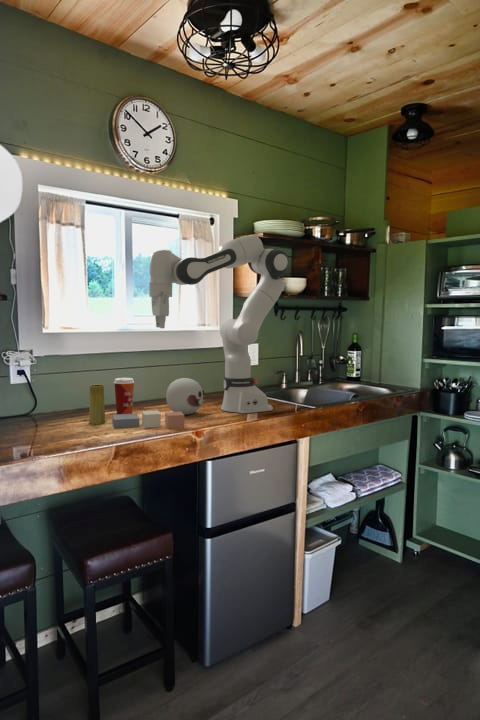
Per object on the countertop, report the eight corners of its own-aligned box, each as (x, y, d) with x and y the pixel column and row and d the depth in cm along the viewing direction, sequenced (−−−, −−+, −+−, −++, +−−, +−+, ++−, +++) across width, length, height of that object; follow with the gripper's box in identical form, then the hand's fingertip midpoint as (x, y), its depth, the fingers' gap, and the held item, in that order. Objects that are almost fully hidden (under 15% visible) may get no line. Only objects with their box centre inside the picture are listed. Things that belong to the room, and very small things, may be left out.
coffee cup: (129, 418, 196) (129, 380, 194) (110, 417, 198) (109, 379, 196) (138, 413, 204) (138, 377, 203) (119, 412, 206) (119, 377, 204)
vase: (108, 421, 190) (108, 384, 188) (99, 424, 184) (98, 387, 183) (95, 420, 192) (94, 383, 190) (85, 423, 186) (84, 385, 185)
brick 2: (181, 424, 187) (181, 411, 186) (184, 428, 181) (184, 414, 181) (165, 425, 185) (165, 412, 184) (167, 429, 179) (167, 415, 179)
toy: (196, 419, 195) (196, 381, 194) (160, 416, 199) (160, 379, 197) (208, 411, 210) (208, 376, 208) (174, 409, 213) (174, 375, 212)
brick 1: (158, 423, 188) (158, 410, 188) (160, 427, 183) (160, 413, 182) (142, 424, 186) (142, 411, 186) (144, 428, 181) (144, 414, 180)
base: (136, 421, 191) (136, 413, 191) (139, 426, 183) (139, 418, 182) (112, 422, 188) (112, 414, 188) (114, 427, 180) (114, 419, 179)
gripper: (173, 291, 183) (172, 329, 185) (164, 293, 203) (164, 327, 204) (156, 290, 181) (155, 328, 183) (149, 292, 201) (148, 326, 202)
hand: (160, 327), depth 194 cm, fingers open, 8 cm apart
